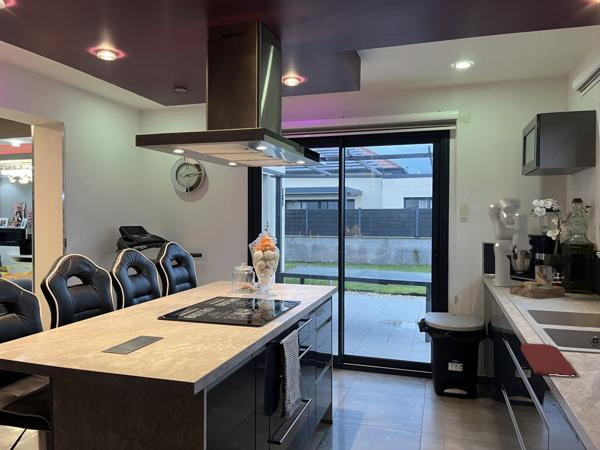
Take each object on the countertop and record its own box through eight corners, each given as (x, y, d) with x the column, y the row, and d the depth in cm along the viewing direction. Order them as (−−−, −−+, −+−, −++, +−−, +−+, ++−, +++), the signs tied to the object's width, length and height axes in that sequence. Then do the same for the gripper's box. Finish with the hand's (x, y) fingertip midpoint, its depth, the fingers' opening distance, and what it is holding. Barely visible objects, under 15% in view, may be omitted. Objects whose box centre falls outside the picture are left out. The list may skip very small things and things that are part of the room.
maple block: (524, 288, 296) (524, 281, 296) (530, 287, 298) (530, 281, 298) (530, 289, 292) (530, 283, 292) (536, 288, 293) (536, 282, 293)
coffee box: (553, 290, 307) (553, 266, 307) (547, 291, 305) (547, 267, 304) (541, 288, 316) (541, 265, 315) (534, 289, 313) (534, 265, 313)
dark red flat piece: (577, 389, 146) (552, 354, 170) (578, 375, 146) (552, 341, 170) (536, 386, 149) (517, 352, 173) (537, 372, 148) (517, 340, 172)
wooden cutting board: (509, 293, 296) (509, 286, 296) (540, 291, 304) (540, 283, 304) (532, 298, 279) (532, 290, 279) (564, 295, 287) (564, 287, 287)
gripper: (526, 232, 299) (526, 258, 299) (505, 232, 293) (506, 259, 293) (536, 232, 292) (536, 259, 292) (515, 232, 286) (515, 260, 286)
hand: (521, 259), depth 292 cm, fingers open, 9 cm apart
